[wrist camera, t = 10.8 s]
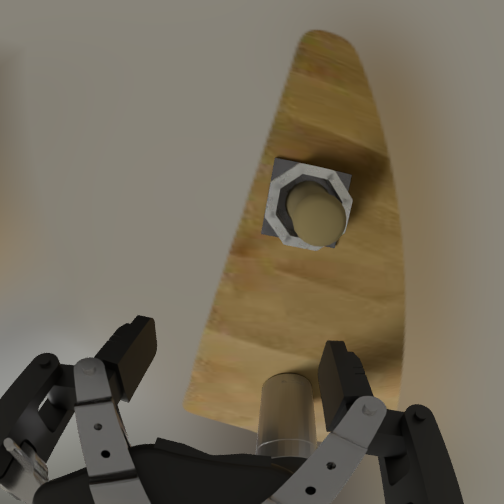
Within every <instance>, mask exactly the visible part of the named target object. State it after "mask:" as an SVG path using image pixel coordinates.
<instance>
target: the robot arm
mask: <svg viewBox="0 0 504 504" xmlns="http://www.w3.org/2000/svg"><path fill="white" fill-rule="evenodd" d="M156 351H157V340H156V332H155V322H154V319H153V318H149V317H145V316H140V315H138V316H137V317H136V318H135V319H134V320H133V321H132V323H131V324H129V323H126V324H124V325H123V326H121V327H119V328H118V329H117V330H116V331H115V333H114V334H113V335H112V336H111V337H110V339H109V341H107V342H106V343H105V345H104V346H103V347H102V348H101V349H100V351H99V352H98V353H97V354H96V355H95V357H94V358H91V357H89V358H84V359H81V360H80V361H78V362H77V363H76V364H75V365H65V364H60V362H59V360H58V358H57V357H56V355H54V354H51V353H43V354H40V355H38V356H37V357H35V358H34V359H33V361H32V362H31V363H30V364H29V365H28V366H27V367H26V369H25V370H24V371H23V372H22V373H21V374H20V376H19V377H18V378H17V379H16V380H15V381H14V383H13V384H12V385H11V386H10V387H9V389H8V390H7V391H6V392H5V394H4V395H3V396H2V397H1V399H0V488H1V489H2V490H4V491H6V492H7V493H9V494H10V495H11V496H13V497H14V498H16V499H18V500H22V501H24V502H25V503H27V504H331V503H332V501H333V500H334V499H335V497H336V496H337V495H338V494H339V492H340V491H341V490H342V488H343V487H344V485H345V484H346V483H347V481H348V480H349V478H350V477H351V475H352V474H353V472H354V471H355V469H356V468H357V466H358V465H359V463H360V462H361V460H362V458H363V457H364V455H365V454H368V455H375V456H378V460H379V465H380V471H381V477H382V483H383V490H384V497H385V504H464V503H463V499H462V495H461V492H460V489H459V485H458V481H457V478H456V475H455V472H454V469H453V466H452V463H451V460H450V457H449V454H448V451H447V449H446V446H445V443H444V440H443V438H442V435H441V433H440V430H439V428H438V425H437V423H436V420H435V418H434V415H433V414H432V412H431V410H430V409H428V408H427V407H425V406H423V405H419V404H415V405H411V406H409V407H408V408H407V409H406V411H405V412H400V411H394V410H389V409H386V406H385V404H384V403H383V402H382V401H381V400H380V399H378V398H376V397H374V396H373V393H372V390H371V388H370V385H369V382H368V379H367V377H366V375H365V371H364V369H363V366H362V363H361V361H360V359H359V358H358V357H357V356H356V355H355V354H354V352H347V349H346V346H345V343H344V341H329V340H328V341H327V342H326V345H325V348H324V351H323V355H322V358H321V361H320V364H319V369H318V380H319V386H320V392H321V398H322V404H323V411H324V417H325V424H326V431H327V432H330V433H329V434H328V436H327V437H326V438H325V439H324V441H323V442H322V443H321V444H320V445H319V447H318V448H317V438H316V426H315V414H314V404H313V394H312V386H311V383H310V382H309V381H308V380H307V379H306V378H304V377H303V376H300V375H297V374H280V375H276V376H274V377H272V378H270V379H268V380H267V381H266V382H265V383H264V385H263V387H262V395H261V405H260V416H259V426H258V437H257V447H256V455H252V454H231V455H209V454H207V453H204V452H202V451H199V450H197V449H194V448H192V447H190V446H187V445H185V444H182V443H177V442H174V441H170V440H166V439H161V438H157V440H156V443H155V444H142V445H136V446H132V445H131V443H130V440H129V438H128V435H127V432H126V430H125V427H124V424H123V421H122V418H121V415H120V412H119V408H118V403H119V401H120V400H122V401H125V402H129V401H130V400H131V398H132V396H133V394H134V392H135V390H136V388H137V387H138V385H139V383H140V382H141V380H142V378H143V376H144V374H145V373H146V371H147V369H148V367H149V366H150V364H151V362H152V360H153V358H154V356H155V354H156ZM46 396H47V400H46V401H45V403H44V404H43V406H42V407H41V408H40V410H39V411H38V408H39V405H40V404H41V402H42V401H43V400H44V398H45V397H46ZM74 412H75V415H76V421H77V427H78V433H79V438H80V442H81V447H82V452H83V456H84V460H85V464H86V467H85V468H83V469H80V470H78V471H75V472H72V473H70V474H67V475H65V476H62V477H59V478H56V479H53V480H50V481H49V478H48V468H47V465H46V463H47V460H48V459H49V457H50V455H51V453H52V451H53V449H54V447H55V445H56V444H57V442H58V440H59V438H60V436H61V435H62V433H63V431H64V429H65V427H66V426H67V424H68V422H69V420H70V419H71V417H72V415H73V414H74ZM332 431H333V432H332Z"/></svg>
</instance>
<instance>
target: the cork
mask: <svg viewBox="0 0 504 504" xmlns="http://www.w3.org/2000/svg"><path fill="white" fill-rule="evenodd" d="M285 207H286V211H287V214H288V216H289V217H290V219H291V220H292V222H293V226H294V230H295V232H296V233H297V235H298V237H299V238H300V239H302V240H303V241H304V242H305V243H308V244H310V245H312V246H319V247H323V246H327V245H330V244H332V243H334V242H336V241H337V240H338V239H339V238H340V237H341V236H342V234H343V232H344V230H345V227H346V220H347V218H346V213H345V209H344V207H343V205H342V203H341V202H340V201H339V200H338V199H337V198H336V197H334V196H332V195H330V194H329V193H328V191H327V189H326V188H325V187H324V186H322V185H321V184H319V183H317V182H315V181H303V182H299V183H298V184H296V185H294V186H293V187H292V188H291V189H290V191H289V192H288V194H287V197H286V201H285Z"/></svg>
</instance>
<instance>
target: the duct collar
mask: <svg viewBox="0 0 504 504" xmlns="http://www.w3.org/2000/svg"><path fill="white" fill-rule="evenodd" d="M351 176H352V175H350V174H346V173H342V172H338V171H334V170H330V169H326V168H322V167H317V166H313V165H308V164H304V163H299V162H294V161H289V160H284V159H279V158H275V161H274V166H273V172H272V177H271V183H270V188H269V194H268V199H267V205H266V210H265V216H264V221H263V227H262V232H261V234H265V235H270V236H275V237H279V238H280V240H281V241H282V242H283V244H284V245H289V246H294V247H299V248H305V249H310V250H315V251H316V250H319V249H321V248H322V247H319V246H312V245H310V244H308V243H305V242H304V241H303V240H302V239H300V238H299V237H298V235H297V233H296V232H295V230H294V226H293V222H292V220H291V219H290V217H289V216H288V214H287V211H286V207H285V201H286V197H287V194H288V192H289V191H290V189H291V188H292V187H293V186H294V185H296V184H298V183H299V182H303V181H315V182H317V183H319V184H321V185H322V186H324V187H325V188H326V189H327V191H328V193H329V194H330V195H332V196H334V197H336V198H337V199H338V200H339V201H340V202H341V203H342V205H343V207H344V209H345V213H346V218H347V220H346V227H347V223H348V218H349V214H350V210H351V206H352V202H353V201H352V198H351V196H350V195H349V193H348V190H349V186H350V181H351ZM346 227H345V230H346ZM345 230H344V232H343V234H344V233H345ZM343 234H342V235H343ZM335 245H336V242H334V243H332V244H330V245H327V246H326V247H331V248H335ZM323 247H324V246H323Z"/></svg>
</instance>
